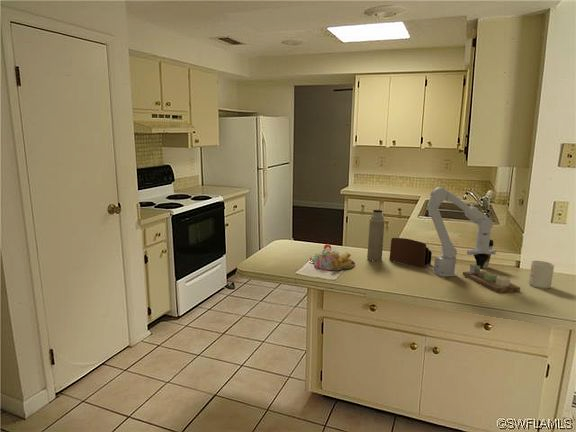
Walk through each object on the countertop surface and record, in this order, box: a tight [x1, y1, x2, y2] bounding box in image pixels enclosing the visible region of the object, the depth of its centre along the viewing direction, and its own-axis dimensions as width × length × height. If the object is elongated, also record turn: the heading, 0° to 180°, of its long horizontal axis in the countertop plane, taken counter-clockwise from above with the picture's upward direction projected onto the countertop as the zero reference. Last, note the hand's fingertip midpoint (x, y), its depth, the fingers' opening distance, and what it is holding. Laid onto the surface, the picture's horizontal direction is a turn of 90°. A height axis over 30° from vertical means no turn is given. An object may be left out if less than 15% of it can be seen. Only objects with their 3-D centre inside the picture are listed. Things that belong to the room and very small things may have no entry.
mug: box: [528, 260, 555, 290], centre depth 187 cm, size 12×9×11 cm
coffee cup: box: [475, 239, 494, 269], centre depth 214 cm, size 8×8×15 cm
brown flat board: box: [462, 270, 521, 294], centre depth 188 cm, size 12×24×2 cm, turn 12°
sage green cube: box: [484, 272, 498, 281], centre depth 188 cm, size 4×4×4 cm
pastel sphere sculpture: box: [309, 243, 356, 271], centre depth 211 cm, size 25×24×9 cm
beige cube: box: [495, 276, 511, 287], centre depth 180 cm, size 4×4×4 cm
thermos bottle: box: [366, 209, 386, 262], centre depth 221 cm, size 8×8×28 cm
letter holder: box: [388, 237, 432, 269], centre depth 218 cm, size 10×20×14 cm, turn 50°
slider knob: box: [469, 263, 481, 274], centre depth 195 cm, size 3×4×4 cm
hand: (479, 268), depth 195 cm, fingers closed
